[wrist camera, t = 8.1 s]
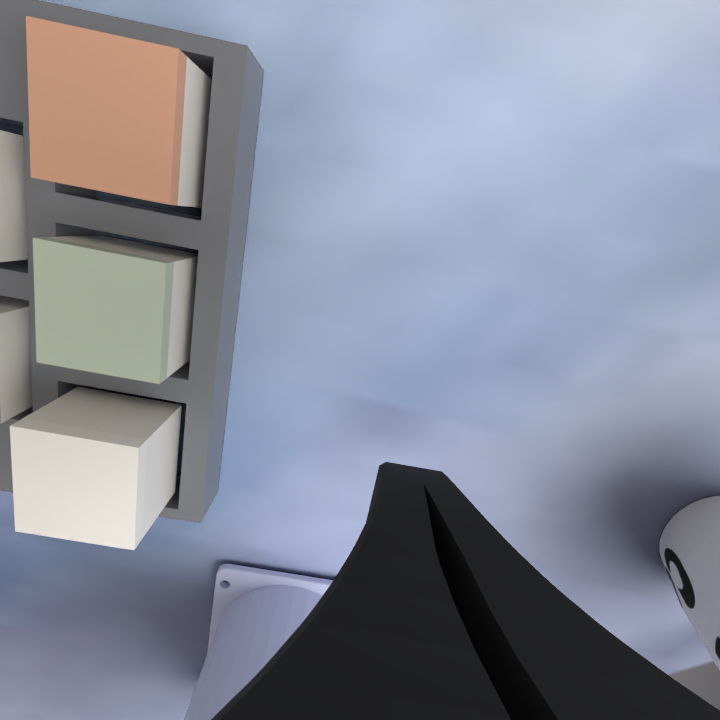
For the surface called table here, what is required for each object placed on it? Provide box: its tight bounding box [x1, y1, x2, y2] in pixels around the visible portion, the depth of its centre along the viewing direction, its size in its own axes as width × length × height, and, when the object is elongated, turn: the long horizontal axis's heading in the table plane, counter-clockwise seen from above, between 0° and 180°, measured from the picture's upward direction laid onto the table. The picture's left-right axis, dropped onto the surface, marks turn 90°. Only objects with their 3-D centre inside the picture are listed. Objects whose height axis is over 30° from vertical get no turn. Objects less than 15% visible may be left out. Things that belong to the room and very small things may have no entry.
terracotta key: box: [26, 16, 212, 208], centre depth 15 cm, size 4×4×4 cm
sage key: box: [33, 235, 198, 384], centre depth 16 cm, size 4×4×4 cm
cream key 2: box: [10, 387, 182, 550], centre depth 17 cm, size 4×4×4 cm
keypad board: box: [0, 0, 264, 523], centre depth 17 cm, size 18×12×2 cm
